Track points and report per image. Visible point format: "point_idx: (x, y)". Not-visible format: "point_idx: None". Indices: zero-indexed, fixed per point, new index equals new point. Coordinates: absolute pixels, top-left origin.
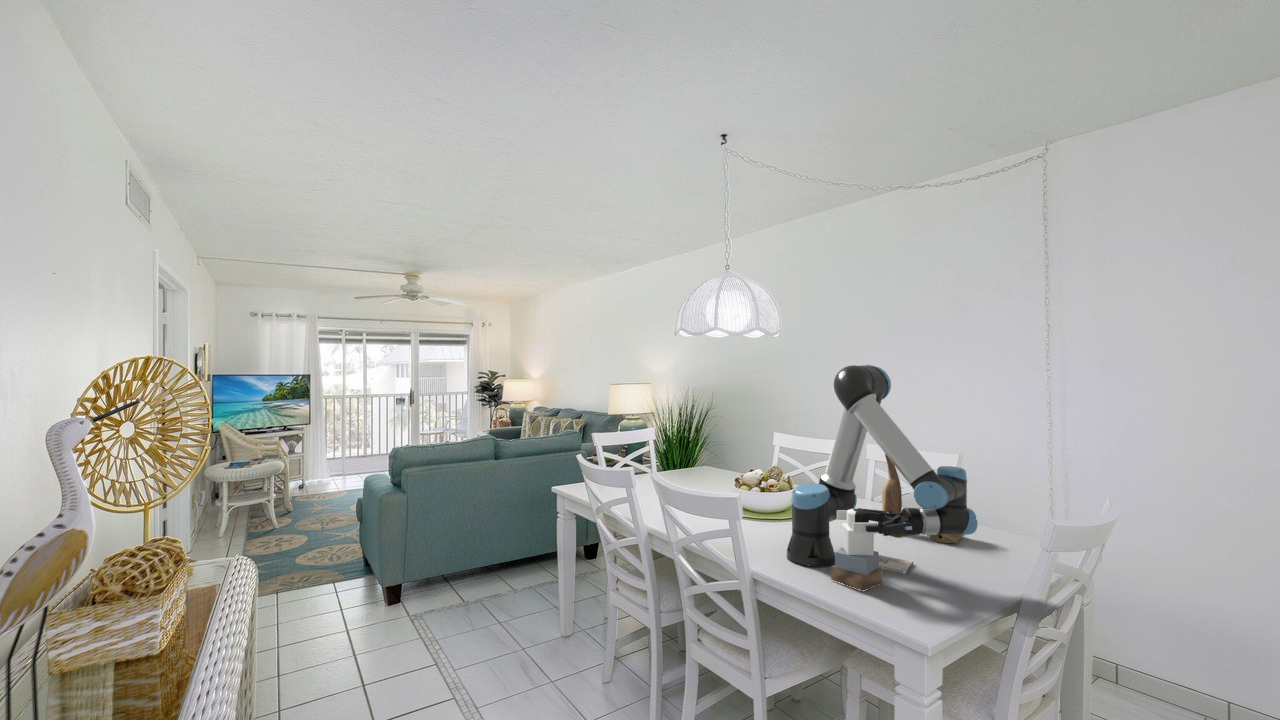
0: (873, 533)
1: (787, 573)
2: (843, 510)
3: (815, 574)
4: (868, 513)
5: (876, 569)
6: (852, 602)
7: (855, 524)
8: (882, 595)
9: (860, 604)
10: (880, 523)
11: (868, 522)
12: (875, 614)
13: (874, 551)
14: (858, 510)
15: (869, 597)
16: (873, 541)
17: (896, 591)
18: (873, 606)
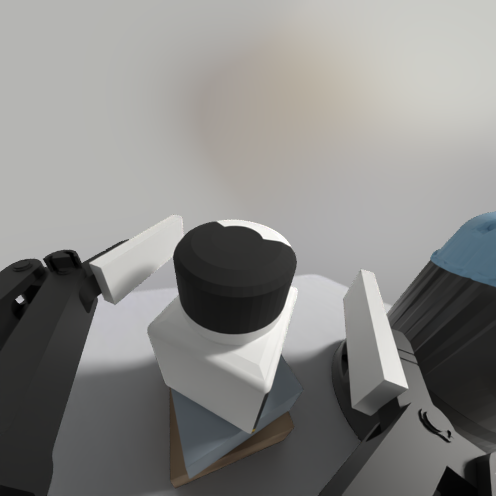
0: (148, 331)
1: (301, 299)
2: (377, 295)
3: (289, 337)
4: (191, 279)
5: (180, 443)
6: (155, 309)
7: (169, 220)
8: (125, 395)
9: (140, 315)
10: (58, 256)
11: (183, 305)
12: (98, 309)
13: (200, 445)
14: (235, 239)
15: (144, 354)
16: (155, 354)
17: (102, 478)
18: (115, 329)
